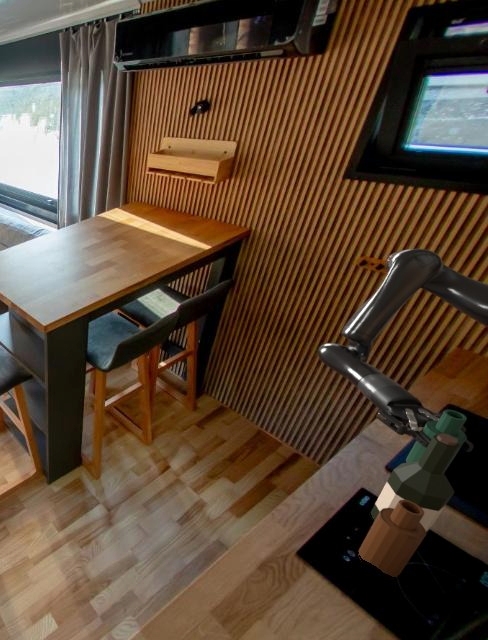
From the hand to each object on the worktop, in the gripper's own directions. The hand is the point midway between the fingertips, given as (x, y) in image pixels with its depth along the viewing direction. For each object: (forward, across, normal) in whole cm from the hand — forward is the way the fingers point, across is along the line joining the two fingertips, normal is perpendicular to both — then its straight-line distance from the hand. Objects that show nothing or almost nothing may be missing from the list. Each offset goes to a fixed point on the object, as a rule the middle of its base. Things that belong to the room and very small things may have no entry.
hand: (451, 448), depth 82 cm
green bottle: (-2, 0, +10) cm, 10 cm away
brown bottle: (+17, -20, +18) cm, 32 cm away
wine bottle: (+8, -10, +18) cm, 23 cm away
